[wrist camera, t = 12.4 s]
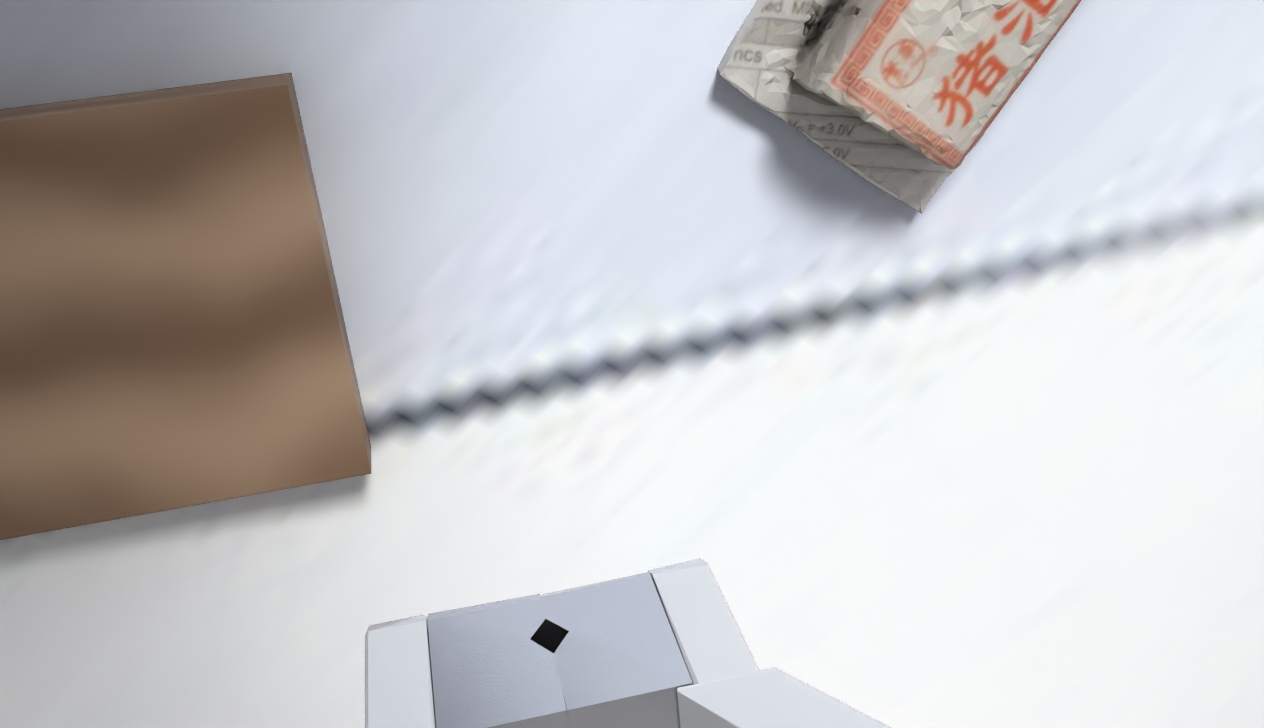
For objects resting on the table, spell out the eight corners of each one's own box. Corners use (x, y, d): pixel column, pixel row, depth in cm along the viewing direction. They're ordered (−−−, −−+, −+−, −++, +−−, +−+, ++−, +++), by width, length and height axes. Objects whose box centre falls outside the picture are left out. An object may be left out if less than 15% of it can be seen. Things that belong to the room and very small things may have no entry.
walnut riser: (-247, 140, 35) (-280, 156, 33) (291, 73, 37) (287, 84, 36) (-83, 527, 41) (-103, 558, 39) (371, 447, 43) (371, 473, 42)
